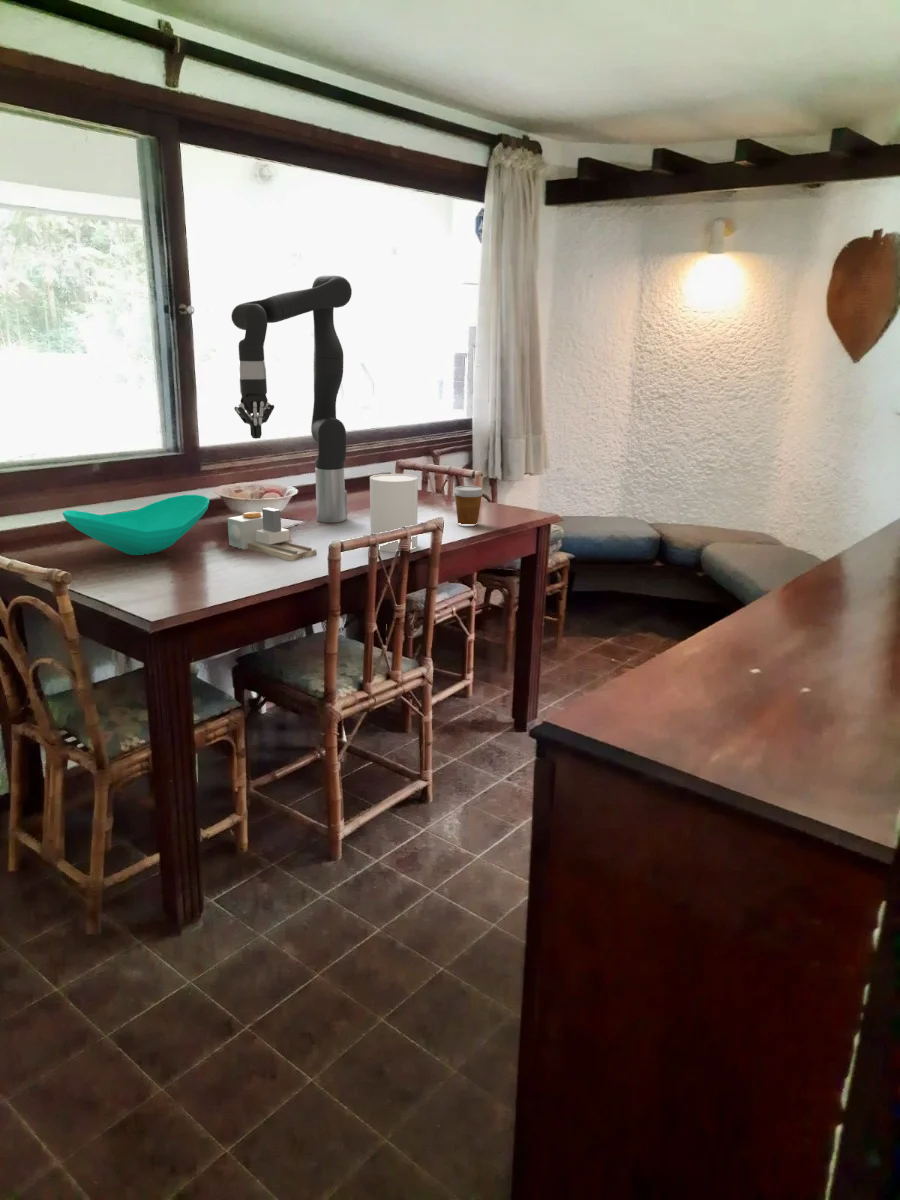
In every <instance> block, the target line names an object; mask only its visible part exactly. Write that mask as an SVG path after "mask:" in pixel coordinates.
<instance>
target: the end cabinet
mask: <svg viewBox="0 0 900 1200" xmlns="http://www.w3.org/2000/svg"><path fill="white" fill-rule="evenodd" d="M259 513H261V516H260V517H259V518H254V519H248V518H246V517H244V516H243V514H242V515H236V516H231V517H226V518H227V519H226V520H227V534H228V545H229V546H230V545H231V546H230V547H235V548H237V547H238V548H237V549H240V548H241V550H249V549H248V543H253V541H252V540H254V539H256V530H261V529H263V513H262V511H260V512H259Z"/></svg>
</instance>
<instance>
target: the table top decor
mask: <svg viewBox="0 0 900 1200" xmlns="http://www.w3.org/2000/svg"><path fill="white" fill-rule="evenodd" d="M209 504H210V499H209V497H207V496H204V495H200V494H199V495H198V494H183V495H177V496H171V497H168V498H165V499H161V500H159V501H154V502H153V503H149V504H147V505H145V506H143V507H141V508H138V509H135V510H127V511H121V512H114V513H106V514H96V513H92V512H89V511H88V512H86V511H80V510H65V511H63V512H62V515H63V517H64V519H65V522H67V523H68V524H70V525H71V526H72V527H73V528H75V529H76V530H77V531H79V532H81V533H82V534H84V535H86V536H89V537H90V538H92V539H95V540H96V541H98V542H101V543H103V544H104V545H106V546H109V547H111V548H113V549H116V550H117V551H120V552H122V553H124V554H127V555H129V556H130V555H131V556H144V554H146V555H151V553H152V554H155V553H159V552H162V551H164V550H166V549H168V548H170V547H171V546H172V545H174V544H175V543H176V542H177V541H178V540H179V539H181V538H182V537H184V535H185V534H187V532H189V531H190V530H191V529H192V528H193V527H194V526H195V525H196V524H197V523H198V522H199V520H200V519H201V518H202V517H203V516H204V515H205V513H206V512H207V510H208V508H209Z"/></svg>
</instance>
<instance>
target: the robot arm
mask: <svg viewBox="0 0 900 1200" xmlns="http://www.w3.org/2000/svg"><path fill="white" fill-rule="evenodd" d="M352 292H353V290H352V286H351V284H350V282H349V281H348V279H346V277H344V276H341V275H333V274H332V275H320V276H318V277H316V278H315V279H314V281H313V282H312V287H311V288H306V289H301V290H295V291H294V290H293V291H288V292H283V293H279V294H275V295H272V296H269V297H266V298H264V299H259V300H254V301H248V302H247V301H246V302H243V303H240V304H238V305H236V306H235V307H234V308H233V310H232V312H231V322H232V323H233V325H234V326H235V327H236V328H238V329H239V330H243V331H245V332H244V333H245V335H244V338H243V339H241V340H240V341H239V343H238V359H239V363H238V364H239V366H238V375H239V389H240V390H239V391H240V395H241V398H240V403H239V404H238V405H237V406H234V411H235V412H236V413H237V415H238V416H239V418H240V419H241V421H242V422H243V423H245V424H247V425H249V426H250V427H249V428H250V429H249V430H250V436H251V438H252V439H255V440H257V439H261V437H262V434H263V433H262V425H263V424H265V423H267V422H268V420H269V418H270V416H271V415H272V413H273V410H274V409H275V405H274V404H271V403H269V402H268V401H269V400H268V398H267V392H268V387H267V386H268V385H267V373H266V372H267V368H266V364H265V363H266V362H265V350H264V349H265V348H264V345H265V341H266V335H267V330H268V324H272V323H279V322H282V321H284V320H285V321H286V320H289V319H291V318H295V317H297V316H300V315H304V314H305V313H306V314H307V313H309V312H312V316H313V345H314V346H313V347H314V348H313V408H312V416H311V417H312V419H311V426H310V428H311V430H310V433H311V436H312V438H313V440H314V441H315V442H316V443H317V445H318V447H317V448H318V453H317V457H316V458H315V461H314V464H315V465H314V467H315V468H314V469H315V471H314V472H315V474H314V475H315V497H316V498H315V499H316V501H315V502H316V521H318V522H320V523H341V522H343V521H346V520H348V518H349V517H348V491H347V489H345V462H346V458H347V431H346V427H345V425H344V423H343V422H342V421H341V420H339V419H338V418H337V406H336V405H337V397H338V394H339V391H340V389H341V384H342V381H343V377H344V360H345V359H344V350H343V346H342V343H341V341H340V338H339V337H338V334H337V330H336V329H335V324H334V322H335V321H334V308H335V309H337V308H341V307H344V306H346V305H347V304H349V302H350V300H351V298H352Z"/></svg>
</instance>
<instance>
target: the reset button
mask: <svg viewBox="0 0 900 1200" xmlns="http://www.w3.org/2000/svg"><path fill="white" fill-rule="evenodd" d="M242 515H243V516H244V517H246V518H248V519H254V518H259V517H260V516H261V513H259V512H258V511H250V512H249V511H247V512H244V513H243V514H242Z"/></svg>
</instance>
